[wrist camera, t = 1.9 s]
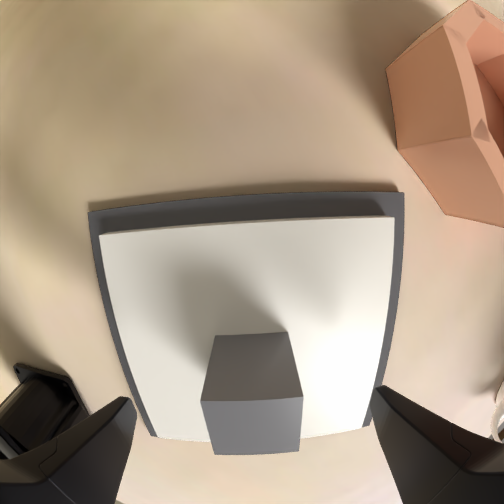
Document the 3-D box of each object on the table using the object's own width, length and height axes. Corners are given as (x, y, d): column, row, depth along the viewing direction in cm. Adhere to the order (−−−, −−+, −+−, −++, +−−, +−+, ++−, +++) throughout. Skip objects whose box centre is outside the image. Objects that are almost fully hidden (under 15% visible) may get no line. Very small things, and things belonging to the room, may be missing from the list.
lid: (160, 428, 13) (141, 487, 9) (107, 232, 11) (36, 259, 6) (357, 419, 13) (381, 477, 9) (385, 215, 11) (457, 234, 6)
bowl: (399, 214, 11) (473, 233, 6) (373, 23, 9) (416, -28, 4) (513, 216, 11) (568, 230, 6) (494, 70, 9) (542, 55, 4)
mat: (152, 431, 14) (150, 435, 14) (92, 211, 11) (87, 212, 10) (367, 421, 14) (369, 425, 13) (399, 192, 11) (404, 192, 10)
